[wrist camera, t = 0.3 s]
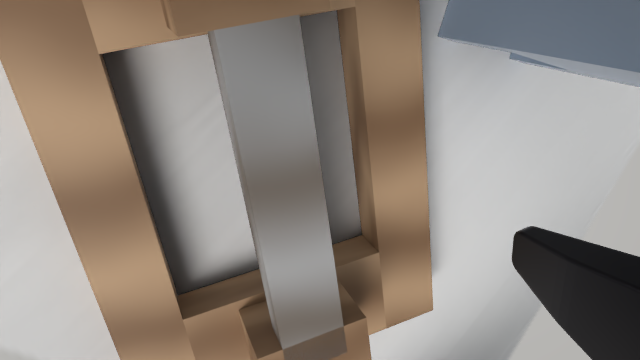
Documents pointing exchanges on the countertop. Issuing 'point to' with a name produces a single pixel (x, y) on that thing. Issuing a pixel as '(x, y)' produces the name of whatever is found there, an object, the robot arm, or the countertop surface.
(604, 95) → the countertop surface
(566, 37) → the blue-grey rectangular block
